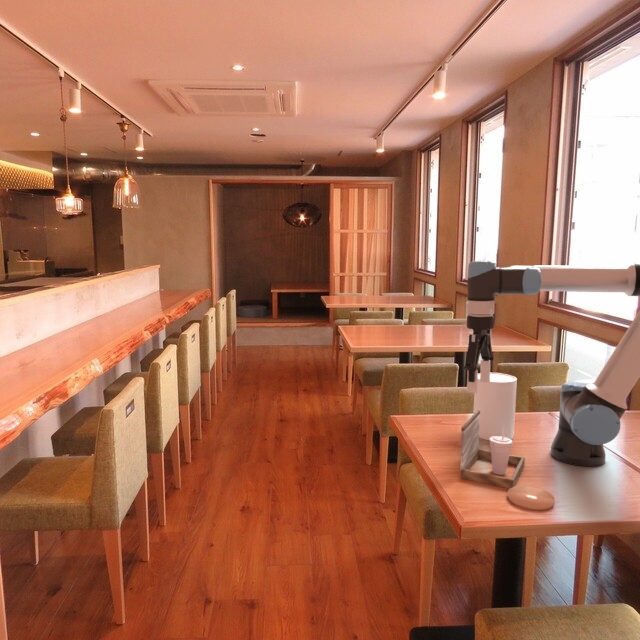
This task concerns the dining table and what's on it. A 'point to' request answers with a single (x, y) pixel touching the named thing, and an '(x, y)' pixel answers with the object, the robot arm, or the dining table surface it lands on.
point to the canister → (496, 405)
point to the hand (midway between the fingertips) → (478, 387)
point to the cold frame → (473, 453)
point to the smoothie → (500, 452)
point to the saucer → (530, 498)
